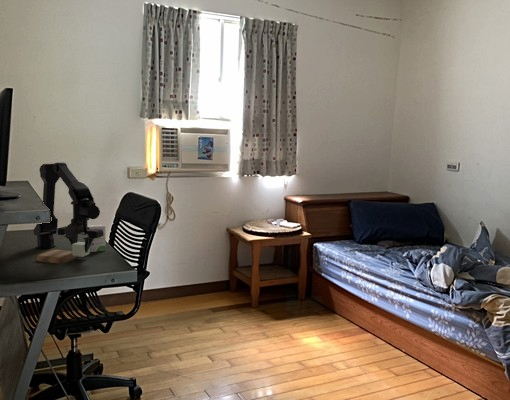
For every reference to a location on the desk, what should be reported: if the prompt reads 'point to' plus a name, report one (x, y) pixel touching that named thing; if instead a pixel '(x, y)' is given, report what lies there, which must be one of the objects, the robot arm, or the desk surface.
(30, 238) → the desk surface
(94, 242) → the ink box
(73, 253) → the sage cube
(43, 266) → the desk surface
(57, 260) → the walnut block
